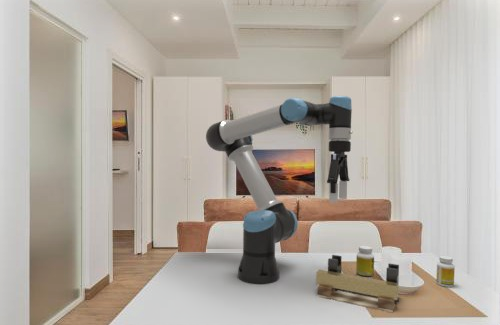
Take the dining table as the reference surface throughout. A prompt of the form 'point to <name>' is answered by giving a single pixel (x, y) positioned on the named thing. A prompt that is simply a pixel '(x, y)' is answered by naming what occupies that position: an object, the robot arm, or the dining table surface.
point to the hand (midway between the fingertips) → (338, 200)
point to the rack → (391, 276)
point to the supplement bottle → (445, 272)
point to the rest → (356, 299)
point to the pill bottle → (365, 262)
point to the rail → (357, 284)
